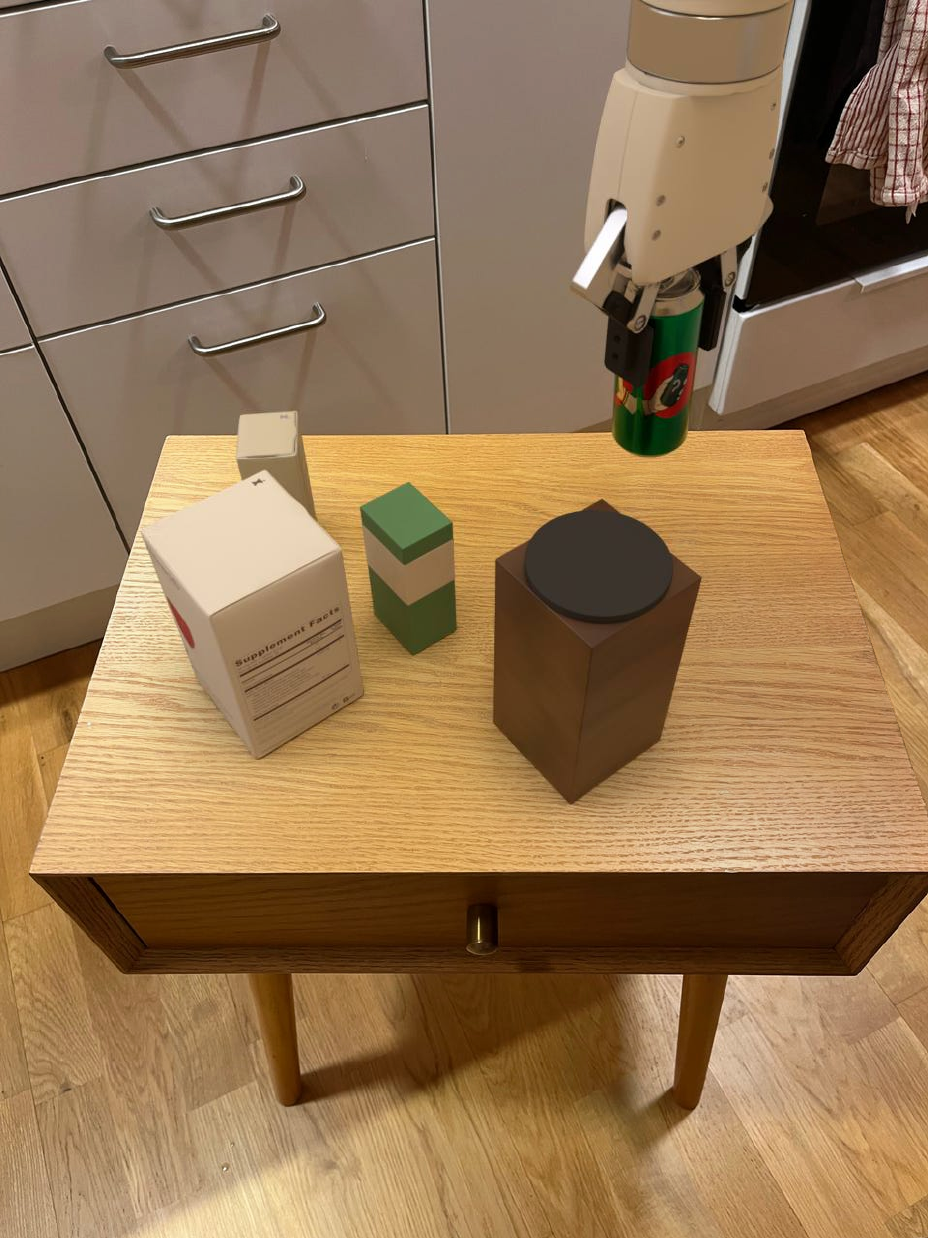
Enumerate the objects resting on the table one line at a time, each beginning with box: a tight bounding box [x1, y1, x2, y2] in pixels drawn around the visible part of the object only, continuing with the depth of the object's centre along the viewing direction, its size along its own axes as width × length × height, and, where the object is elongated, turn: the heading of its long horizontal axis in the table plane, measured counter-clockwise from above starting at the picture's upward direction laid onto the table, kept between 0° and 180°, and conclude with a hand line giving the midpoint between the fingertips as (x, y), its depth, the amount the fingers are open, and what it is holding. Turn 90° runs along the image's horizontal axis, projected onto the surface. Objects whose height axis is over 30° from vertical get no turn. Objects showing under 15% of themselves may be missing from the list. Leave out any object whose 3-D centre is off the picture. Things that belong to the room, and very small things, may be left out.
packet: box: [359, 481, 458, 656], centre depth 67 cm, size 11×5×4 cm
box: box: [235, 410, 318, 523], centre depth 73 cm, size 5×4×11 cm
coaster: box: [524, 509, 673, 623], centre depth 52 cm, size 8×8×1 cm
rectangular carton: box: [139, 470, 365, 760], centre depth 62 cm, size 9×9×15 cm
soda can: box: [611, 267, 705, 459], centre depth 61 cm, size 5×5×12 cm
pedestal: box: [492, 498, 703, 805], centre depth 59 cm, size 8×8×16 cm
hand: (660, 355), depth 60 cm, fingers closed on soda can, 5 cm apart
